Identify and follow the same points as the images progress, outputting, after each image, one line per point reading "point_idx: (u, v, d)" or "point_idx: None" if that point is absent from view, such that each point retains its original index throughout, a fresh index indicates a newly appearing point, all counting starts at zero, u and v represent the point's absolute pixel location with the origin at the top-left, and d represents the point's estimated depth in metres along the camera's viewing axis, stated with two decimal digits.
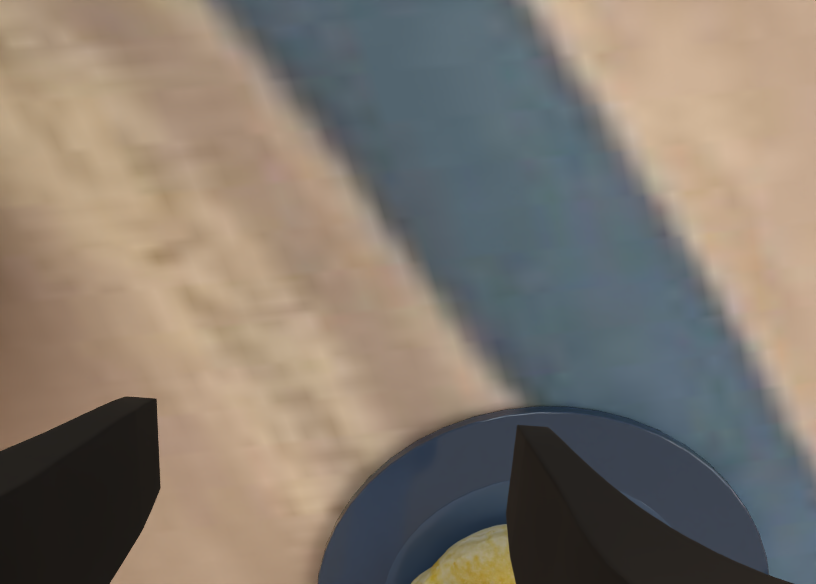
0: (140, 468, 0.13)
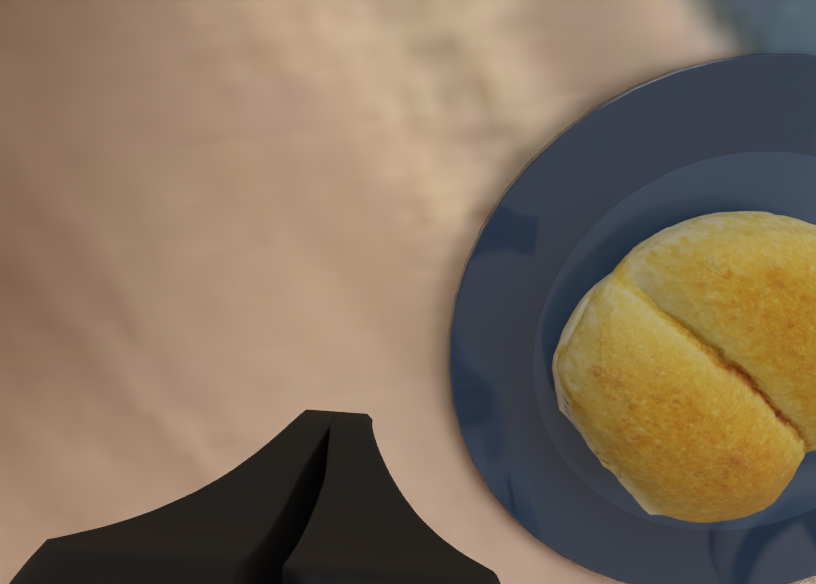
0: None
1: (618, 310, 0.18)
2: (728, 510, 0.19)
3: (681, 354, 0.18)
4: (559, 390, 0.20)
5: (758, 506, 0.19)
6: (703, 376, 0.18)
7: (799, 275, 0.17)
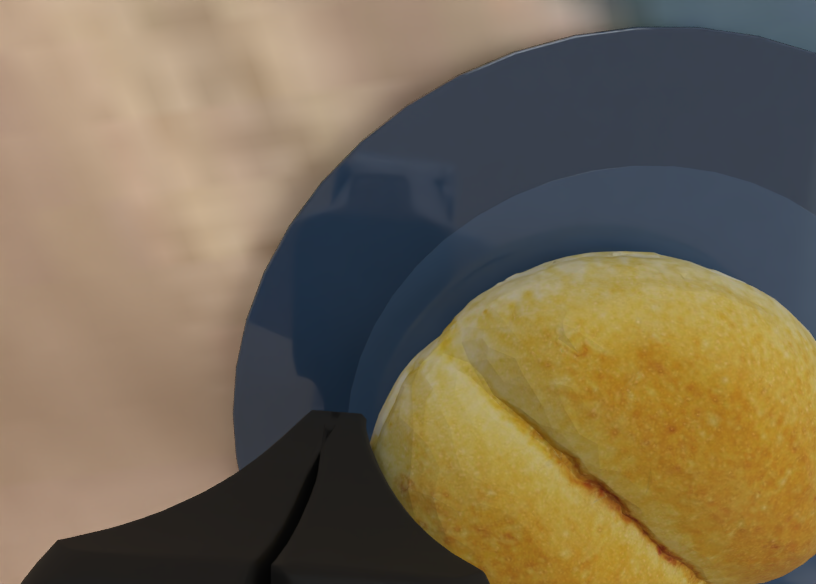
0: None
1: (437, 395, 0.13)
2: None
3: (519, 464, 0.12)
4: None
5: None
6: (550, 498, 0.12)
7: (685, 354, 0.11)
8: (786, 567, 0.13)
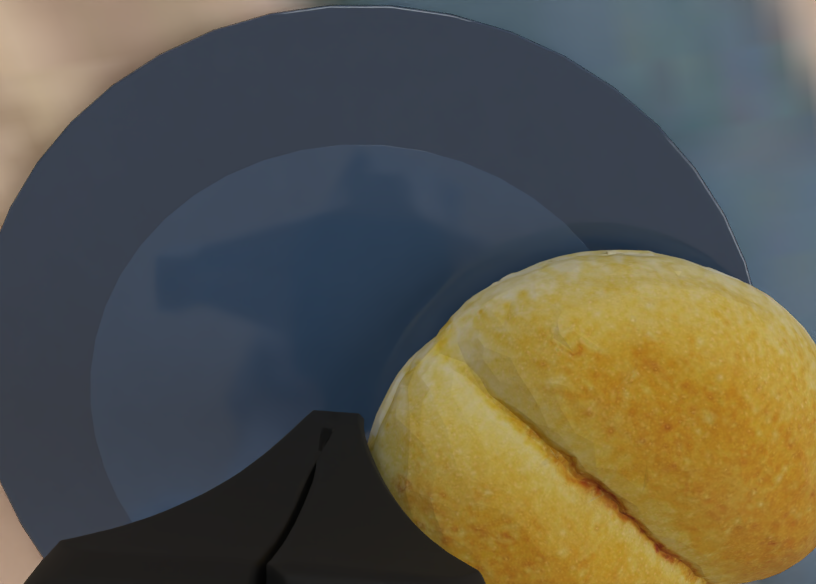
0: None
1: (434, 395, 0.13)
2: None
3: (516, 464, 0.12)
4: None
5: None
6: (546, 497, 0.12)
7: (680, 352, 0.11)
8: (784, 563, 0.13)
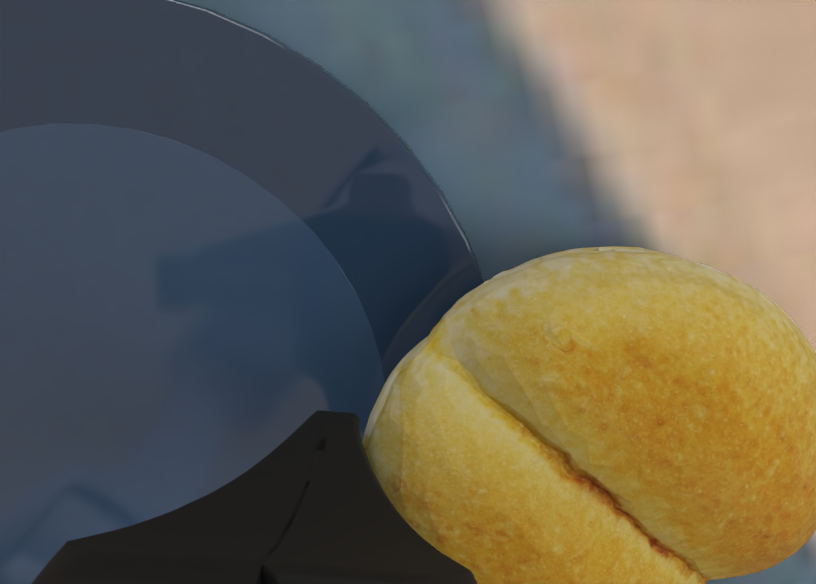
0: None
1: (427, 394, 0.13)
2: None
3: (510, 461, 0.12)
4: None
5: None
6: (540, 494, 0.12)
7: (671, 347, 0.11)
8: (777, 556, 0.13)
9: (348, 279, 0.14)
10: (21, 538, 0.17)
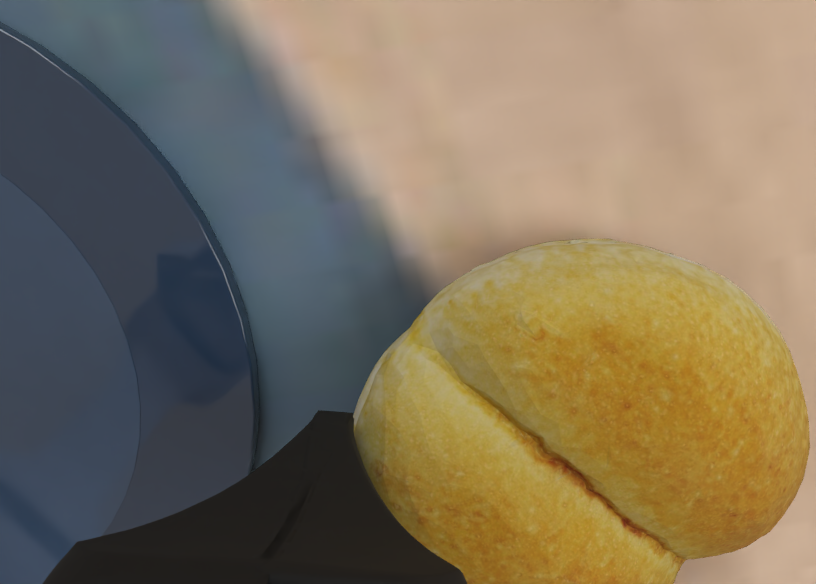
0: None
1: (408, 383, 0.13)
2: None
3: (486, 445, 0.13)
4: None
5: None
6: (515, 476, 0.13)
7: (637, 334, 0.12)
8: (747, 535, 0.13)
9: (85, 259, 0.15)
10: None
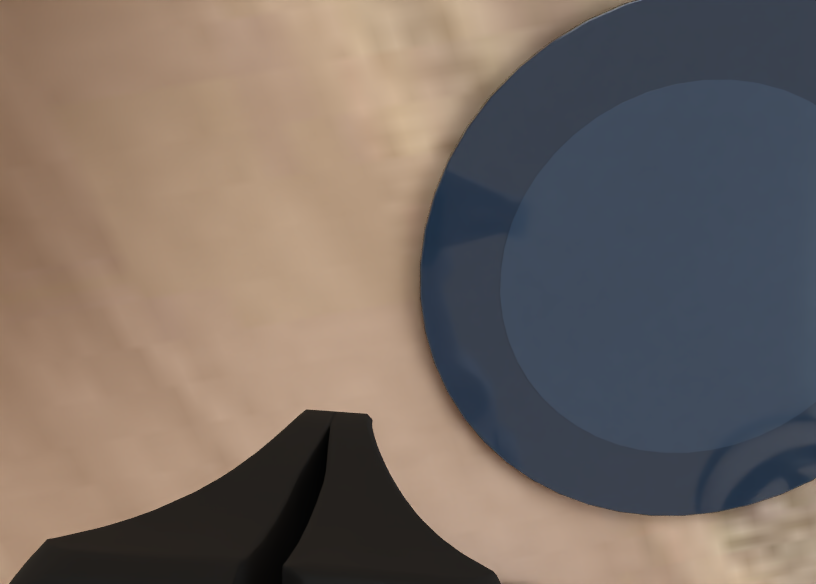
0: None
1: None
2: None
3: None
4: None
5: None
6: None
7: None
8: None
9: None
10: (603, 383, 0.23)
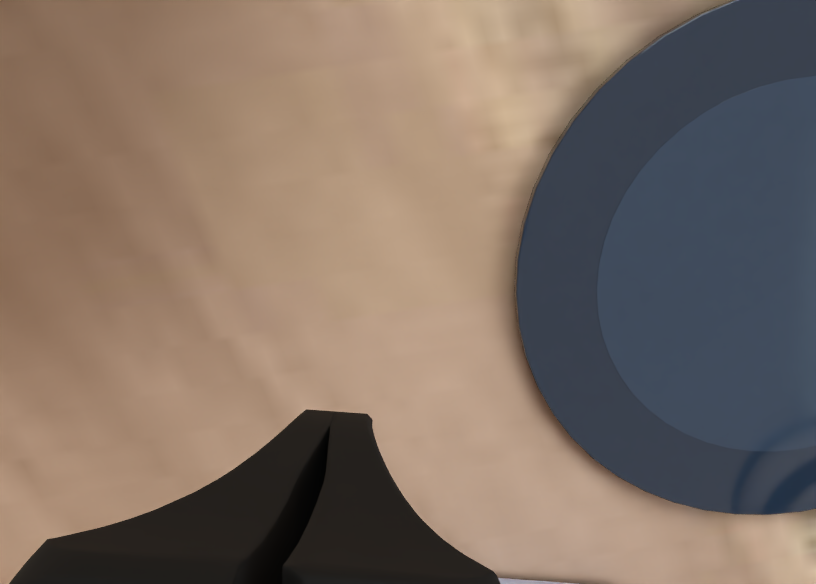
0: None
1: None
2: None
3: None
4: None
5: None
6: None
7: None
8: None
9: None
10: (695, 380, 0.23)
